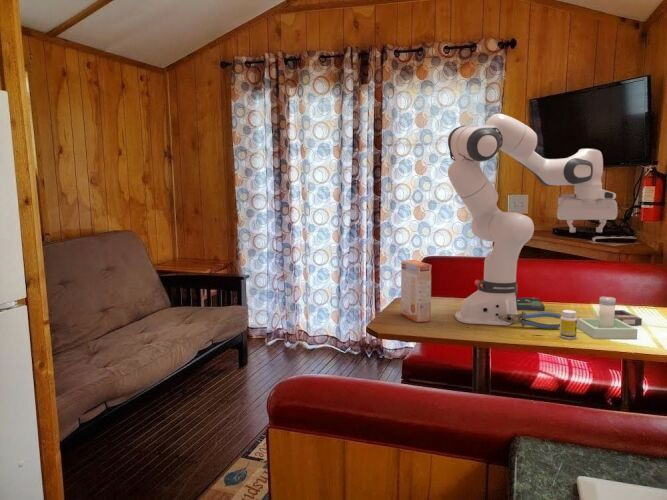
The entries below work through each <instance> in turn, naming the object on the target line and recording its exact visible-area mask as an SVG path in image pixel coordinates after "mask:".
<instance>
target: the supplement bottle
mask: <svg viewBox="0 0 667 500" xmlns="http://www.w3.org/2000/svg"><path fill="white" fill-rule="evenodd" d="M561 311H562V312H561V318H560V323H559V324H560V327H559V329H560V330H559V336H560V338H563V339H567V340H568V339H569V340H575V339H576V338H577V329H578V328H577V311H575V310H570V309H564V310H561Z"/></svg>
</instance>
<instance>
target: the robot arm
mask: <svg viewBox="0 0 667 500" xmlns="http://www.w3.org/2000/svg"><path fill="white" fill-rule="evenodd" d="M537 146H538V134H537V133H536V131H534V130H533V129H532V128H531V127H529V125H526V124H525V123H523V122H521V121H520V120H518V119H517V118H514V117H512V116H510V115H508V114H507V115H506V114H504V113H495V114H492V115H491V116H489V118H487V120H486V121H485V123H484V125H482V126H477V125H461V126H458V127H455V128H454V129H453V130H451V132H450V133H449V134H448V137H447V147H448V151H449V157H450V159H451V160H453V162H452V163H451V164H450V166H449V167H448V169H447V177H448V179H449V181H450V183H451V185H452V187H453V189H454V190H455V192H456V193H457V196H459V198H460V199H461V201H462V202H463V204H464V206H465V207H466V208H467V209H468V211H469V212H470V216H471V217H472V221H471V225H470V226H471V231H472V232H471V233H473V235H474V236H475V237H477V238H479V239H481V240H483V241H485V242H492V243H493V242H494V244H493V248H492V251H491V252H490V253H489V254H488V255H486V257H485V259H484V265H483V266H484V267H483V279H482V280H479V279H475V281H474V284H475V285H476V286H477V290H476V291H475V292H473V293H471V294H470V295H469V296H467V297H466V298H464V299H463V302H462V304H461V307H460V310H459V311H456V312H455V314H454V318H455V319H456V320H457V321H458V322H460V323H464V324H473V325H493V326H509V325H511V324H512V323H508V322H505V321H503V320H500V319H499V318H498V316H501V315H505V314H515V315H518V314H519V313H518V310H517V305H516V297H518V296H517V294H518V281H517V267H518V260H519V256H520V253H521V250H522V248H523V247H524V246H525V244H526V243H528V241H531V240H532V238H533V235H534V232H535V225H534V221H533V219H531V218H530V217H529V216H527V215H525V214H523V213H519V212H514V211H513V212H509V211H503V210H501V209H500V208H499V207H498V205H497V202H498V200H499V193H498V192H497V190H496V188H495V187H494V186H493V184H492V182H490V179H489V178H488V177H487V176H486V174H485V173H484V171H483V170H482V167H481V163H480V162H487V161H489V160H490V159H492V158H494V157H495V155H497V153H498V152H499V150H500V151H501V152H503V153H504V154H506V155H508V156H510V157H511V158H512V159H513V160H515V161H516V162H517V163H518V164H519V165H521V166H522V167H524V168H525V169H526V170H528V171H529V172H531V173H532V174H533V175H534V176H535V177H536V178H537V180H538V182H539V183H540V184H541V185H543V186H545V187H556V186H574V189H573V191H574V192H573V193H574V194H573V193H570V194H566V193H565V194H562V195H560V196H559V197H558V199H557V206H558V207H557V212H556V213H557V214H556V217H557V219H558V220H559V221H563V220H564V221H566V223H567V225H568V227H569V233H576V231H577V230H576V229H577V228H576V227H574V225H573V223H574V221H579V220H580V221H584V220H585V221H591V220H592V221H597V220H599V225H598V226H597V227H595V232H596V233H603V229H604V227H605V225H606V224H607V221H608V220H611V221H612V220H616V219H617V218H618V202H617V201H616V200H615V199H616V198H617V194H616V193H615V192H612V191H610V190H605V189H603V183H602V176H603V173H604V158H603V154H602V152H601V151H600V150H599V149H596V148H590V147H589V148H588V147H586V148H580V149H578V151H577V152H576V153H575V154H573V155H571V156H568V157H565V158H545V157H542V155H540V154H538V153H537V152H536V151H535V149H536V148H537ZM503 318H505V317H503Z"/></svg>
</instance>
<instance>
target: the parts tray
mask: <svg viewBox="0 0 667 500" xmlns="http://www.w3.org/2000/svg"><path fill="white" fill-rule="evenodd" d="M576 318H577V317H576ZM598 324H599V318H586V317H585V318H582V317H581V318H577V329H579V330H580V331H582V332H583V333H585V334H586V335H588V336H590V337H591V338H593V340H595V339H598V340H600V339H603V340H605V339H606V340H607V339H609V340H610V339H611V340H616V339H617V340H619V339H620V340H637V339H638V330H639V329H638V328H636V327H634V326H630V325H628V324H626V323H624V322H622V321H620V320H618V319H614V328H598Z"/></svg>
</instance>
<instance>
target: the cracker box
mask: <svg viewBox="0 0 667 500" xmlns="http://www.w3.org/2000/svg"><path fill="white" fill-rule="evenodd" d="M400 263H401V267H400V268H401V269H400V273H401V275H400V314H401V315H402V316H404V317H406V318H408V319H409V320H410V321H411V320H412V321H413V322H415V323H427V322H429V323H430V322H431V310H432V309H431V308H432V306H431V305H432V303H431V301H432V297H431V296H432V264H429V263H428V262H427V263H426V262H422V261H419V260H415V259H407V260H401V262H400Z"/></svg>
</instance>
